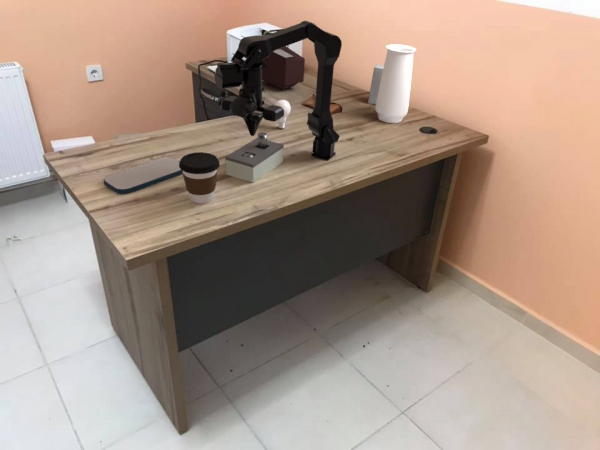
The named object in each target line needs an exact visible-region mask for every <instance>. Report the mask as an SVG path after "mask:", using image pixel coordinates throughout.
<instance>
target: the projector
mask: <svg viewBox="0 0 600 450" xmlns="http://www.w3.org/2000/svg"><path fill="white" fill-rule="evenodd" d="M282 29H283V28H279V29H271V30H266V31H264V32H263V35H266V34H267V33H274V32H277V31H280V30H282ZM289 46H290V45H288V46H285V47H282V48H280V49H277V50H275V51H273V52H272V53H271V54H270V55H269V56H268V57H267V58H265V59H263V60H264V62H265V63H266V64H267V65H269V68H265V69H262V82H264V83H266V86H269V85H270V84H271V85H273V86H275V87H277V88H280V91H283V89H287V88H288V89H289V90H291V88H294V87H295V86H296V85H298V84H299V83H303V82H304V80H305V78H304V77H305V61H306V60H305V57H302V55H299V54H298V53H296V52H295V51H293V50H292V49H290V48H289Z"/></svg>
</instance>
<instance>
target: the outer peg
mask: <svg viewBox="0 0 600 450" xmlns="http://www.w3.org/2000/svg"><path fill="white" fill-rule="evenodd" d="M244 157H247V158H252V157H253V154H252V153H245V154H244Z"/></svg>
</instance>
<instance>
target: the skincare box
mask: <svg viewBox="0 0 600 450" xmlns="http://www.w3.org/2000/svg"><path fill="white" fill-rule="evenodd" d="M383 68H384V64H383V65H382V64H375V65H374V67H373V72H372V78H371V85H370V90H369V94H368V100H367V101H368V102H367V103H368V104H369V105H375V106H376V102H377V97H378V92H379V87H380V82H381V77H382V73H383Z"/></svg>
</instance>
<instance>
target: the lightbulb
mask: <svg viewBox="0 0 600 450" xmlns="http://www.w3.org/2000/svg"><path fill="white" fill-rule="evenodd" d="M274 105H275V106H280V107H282V108H283V109H284V116H283V117H282V118H280V119H278V120H277V123H278V124H277V127H278V128H279V129H282V130H283V129H285V128H286V121H287V117H288V116H289V115H290V113H291V111H292V107H291V103H290V102H289V101H288V100H286V99H279V100H277V101H276V102H275V103H274Z"/></svg>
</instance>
